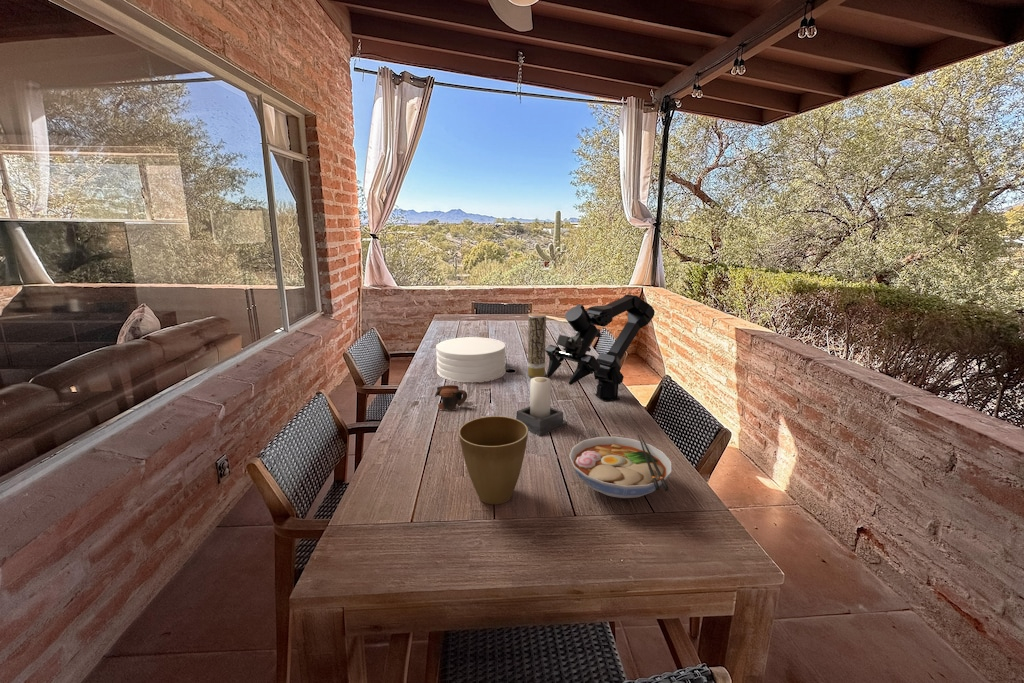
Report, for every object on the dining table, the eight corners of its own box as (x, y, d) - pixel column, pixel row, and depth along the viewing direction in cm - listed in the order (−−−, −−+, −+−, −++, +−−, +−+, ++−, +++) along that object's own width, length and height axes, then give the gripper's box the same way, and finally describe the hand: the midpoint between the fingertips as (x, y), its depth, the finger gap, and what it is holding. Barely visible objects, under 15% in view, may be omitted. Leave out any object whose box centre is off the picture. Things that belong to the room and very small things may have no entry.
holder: (539, 412, 147) (539, 401, 146) (567, 424, 138) (568, 412, 137) (511, 423, 139) (511, 411, 138) (539, 436, 131) (540, 423, 130)
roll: (551, 417, 141) (552, 377, 138) (548, 425, 135) (549, 383, 132) (532, 416, 142) (532, 375, 139) (528, 423, 136) (528, 382, 133)
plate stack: (429, 367, 195) (428, 341, 192) (489, 359, 207) (489, 334, 204) (449, 387, 171) (448, 358, 168) (516, 377, 182) (516, 349, 179)
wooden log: (543, 379, 179) (544, 316, 173) (526, 378, 181) (527, 316, 175) (545, 373, 186) (547, 313, 180) (529, 372, 187) (530, 312, 181)
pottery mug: (429, 411, 149) (429, 386, 152) (444, 414, 158) (443, 390, 160) (462, 407, 145) (461, 381, 147) (475, 409, 154) (474, 385, 156)
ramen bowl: (567, 458, 119) (568, 429, 117) (658, 463, 116) (660, 433, 114) (568, 517, 94) (569, 482, 92) (682, 525, 92) (686, 489, 90)
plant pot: (491, 471, 112) (490, 410, 108) (540, 492, 103) (541, 427, 99) (446, 498, 101) (444, 431, 97) (497, 525, 92) (496, 453, 88)
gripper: (549, 320, 147) (524, 359, 143) (596, 330, 134) (569, 373, 129) (565, 340, 154) (541, 378, 150) (610, 351, 141) (586, 393, 136)
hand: (558, 380), depth 141 cm, fingers open, 9 cm apart
